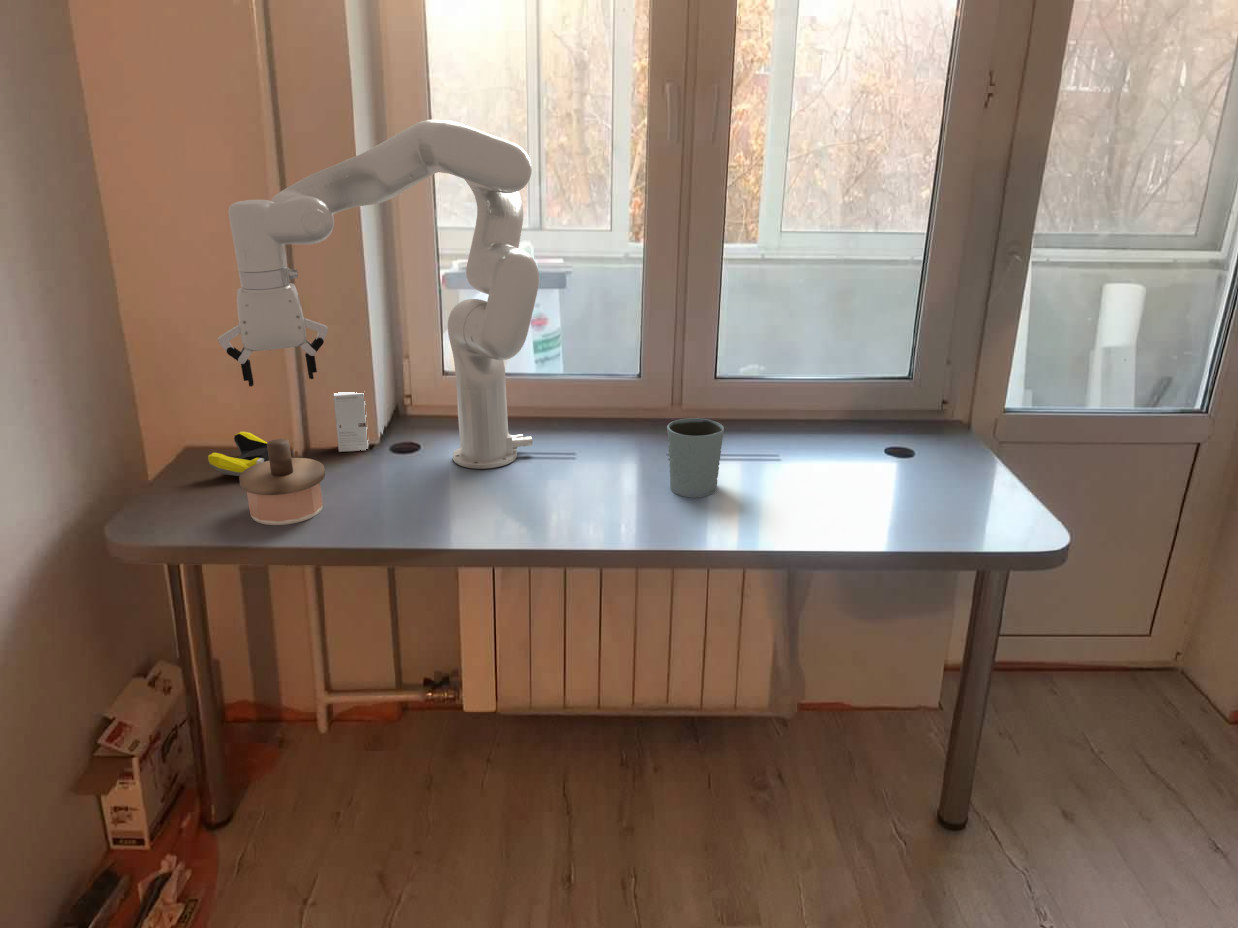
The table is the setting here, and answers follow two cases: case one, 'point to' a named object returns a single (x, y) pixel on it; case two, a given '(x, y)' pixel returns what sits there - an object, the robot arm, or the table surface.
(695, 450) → the grey green cup
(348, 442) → the skincare box
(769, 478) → the table surface
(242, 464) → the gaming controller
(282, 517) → the bowl
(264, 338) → the robot arm
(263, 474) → the lid
